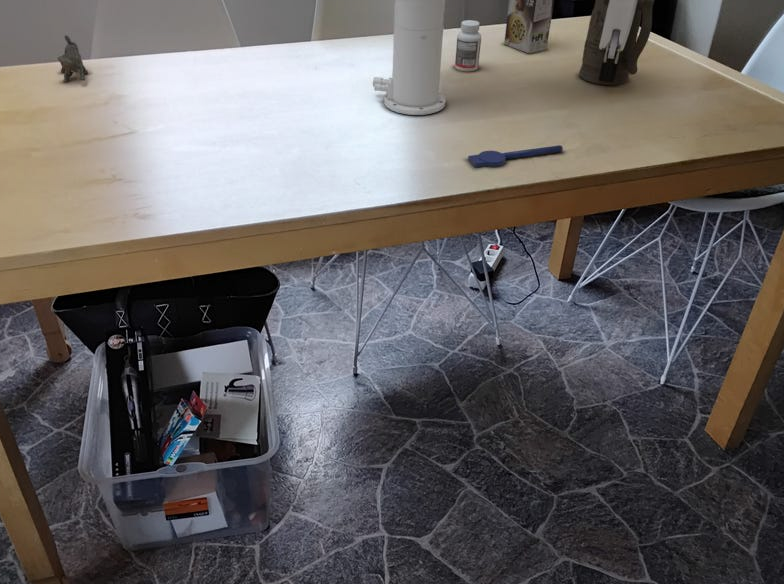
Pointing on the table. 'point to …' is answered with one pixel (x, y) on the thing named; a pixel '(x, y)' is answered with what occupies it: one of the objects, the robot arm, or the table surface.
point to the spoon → (508, 156)
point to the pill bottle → (468, 46)
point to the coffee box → (528, 24)
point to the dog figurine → (71, 61)
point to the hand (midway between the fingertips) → (606, 80)
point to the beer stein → (631, 49)
